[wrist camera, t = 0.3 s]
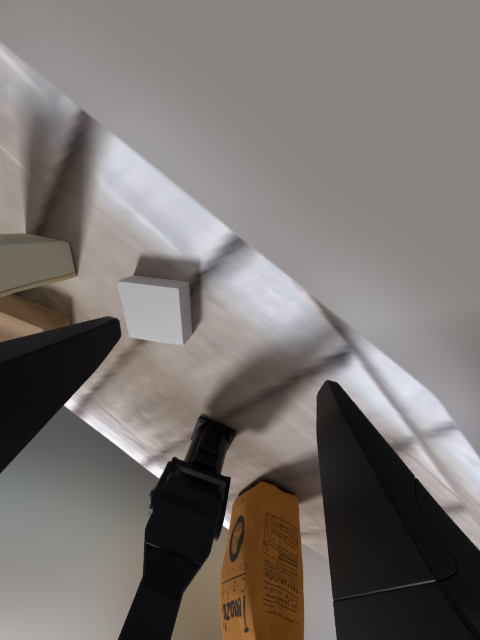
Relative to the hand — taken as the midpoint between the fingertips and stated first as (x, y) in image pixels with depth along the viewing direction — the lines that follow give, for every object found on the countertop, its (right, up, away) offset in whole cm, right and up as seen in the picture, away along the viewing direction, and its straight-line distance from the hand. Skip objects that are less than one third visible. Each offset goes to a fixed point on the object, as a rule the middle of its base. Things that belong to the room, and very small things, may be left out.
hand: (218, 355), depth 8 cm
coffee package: (+6, -33, +31) cm, 45 cm away
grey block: (-8, +3, +17) cm, 19 cm away
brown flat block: (-29, 0, +23) cm, 37 cm away
